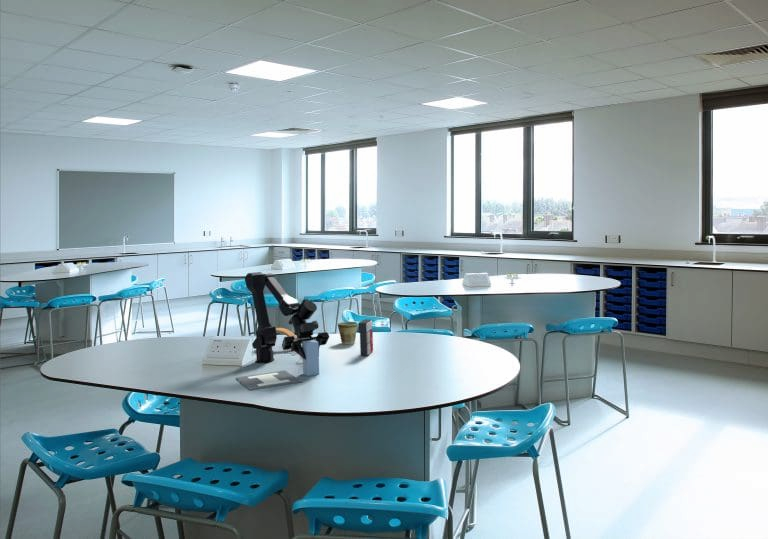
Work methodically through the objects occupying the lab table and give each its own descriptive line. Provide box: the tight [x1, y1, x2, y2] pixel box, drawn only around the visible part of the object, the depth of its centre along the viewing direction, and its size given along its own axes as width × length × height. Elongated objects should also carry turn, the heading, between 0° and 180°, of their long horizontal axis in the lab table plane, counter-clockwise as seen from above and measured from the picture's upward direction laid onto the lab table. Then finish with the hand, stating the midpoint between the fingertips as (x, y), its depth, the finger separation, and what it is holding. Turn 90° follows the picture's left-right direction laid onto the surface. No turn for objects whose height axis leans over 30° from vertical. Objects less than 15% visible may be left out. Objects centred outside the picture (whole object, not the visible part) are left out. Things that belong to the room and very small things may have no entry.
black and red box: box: [357, 318, 374, 357], centre depth 273 cm, size 11×4×15 cm, turn 168°
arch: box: [275, 327, 297, 338], centre depth 289 cm, size 6×20×10 cm, turn 78°
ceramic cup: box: [337, 321, 359, 345], centre depth 300 cm, size 13×10×10 cm
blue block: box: [301, 340, 320, 377], centre depth 239 cm, size 5×5×13 cm
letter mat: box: [236, 370, 303, 391], centre depth 231 cm, size 20×20×1 cm
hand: (311, 358), depth 237 cm, fingers closed on blue block, 5 cm apart
